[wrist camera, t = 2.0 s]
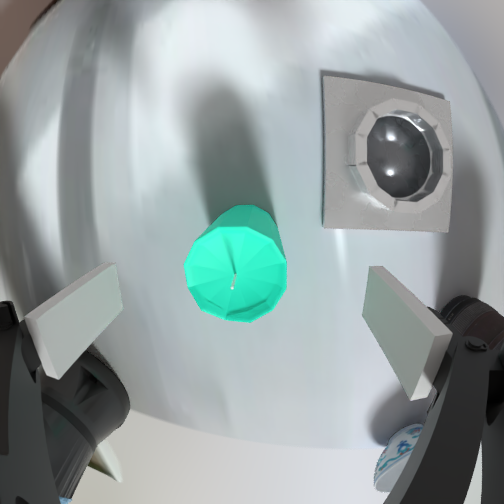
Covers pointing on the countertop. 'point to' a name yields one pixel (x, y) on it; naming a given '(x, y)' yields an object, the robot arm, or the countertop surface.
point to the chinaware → (395, 457)
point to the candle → (238, 265)
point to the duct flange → (385, 157)
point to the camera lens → (475, 320)
